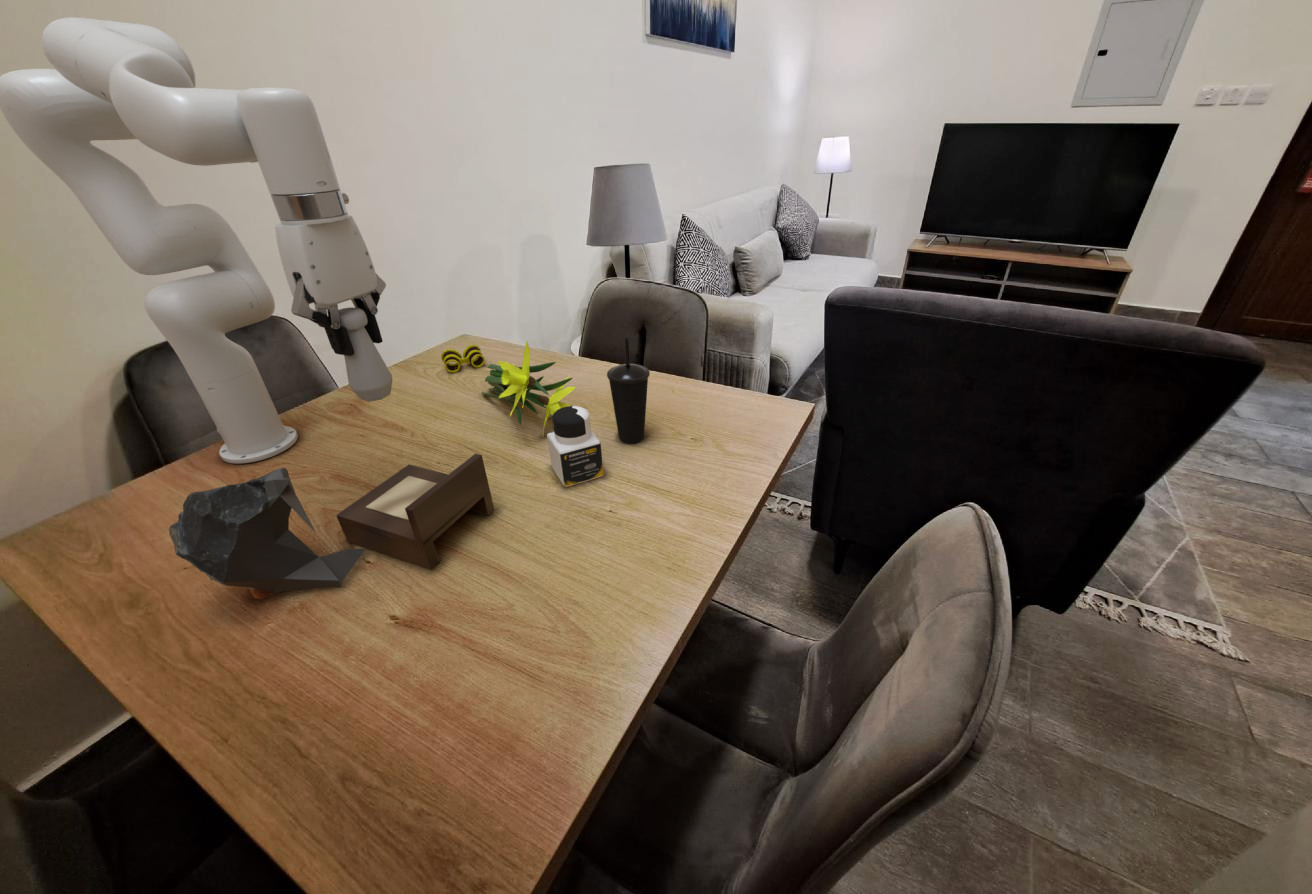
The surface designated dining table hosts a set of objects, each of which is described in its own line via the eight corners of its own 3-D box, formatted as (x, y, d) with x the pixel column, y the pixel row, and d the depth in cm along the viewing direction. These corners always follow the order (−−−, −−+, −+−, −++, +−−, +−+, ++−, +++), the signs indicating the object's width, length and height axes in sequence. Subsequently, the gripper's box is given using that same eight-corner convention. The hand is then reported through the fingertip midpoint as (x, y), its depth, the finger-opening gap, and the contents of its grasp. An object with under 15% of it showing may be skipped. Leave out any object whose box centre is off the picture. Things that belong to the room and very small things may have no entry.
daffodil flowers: (541, 381, 127) (611, 395, 98) (500, 427, 123) (560, 456, 95) (488, 329, 118) (548, 329, 89) (443, 378, 115) (490, 393, 86)
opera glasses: (447, 377, 130) (443, 359, 127) (443, 366, 133) (439, 349, 130) (487, 369, 134) (484, 352, 131) (481, 358, 137) (478, 341, 134)
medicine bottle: (564, 488, 88) (556, 426, 82) (551, 467, 94) (542, 407, 87) (604, 476, 91) (598, 415, 85) (589, 457, 96) (582, 398, 90)
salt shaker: (405, 389, 81) (379, 305, 74) (377, 406, 76) (346, 318, 69) (374, 385, 82) (346, 302, 75) (345, 401, 78) (312, 314, 71)
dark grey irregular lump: (270, 546, 78) (214, 443, 69) (372, 547, 78) (329, 442, 68) (196, 625, 66) (116, 512, 57) (316, 626, 65) (255, 512, 56)
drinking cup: (646, 449, 98) (643, 347, 87) (607, 446, 99) (598, 345, 89) (655, 429, 104) (652, 331, 94) (617, 426, 106) (611, 329, 95)
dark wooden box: (347, 541, 78) (322, 484, 72) (416, 489, 89) (399, 435, 83) (431, 570, 73) (411, 510, 67) (494, 510, 84) (481, 454, 78)
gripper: (345, 199, 73) (385, 326, 83) (223, 217, 60) (286, 367, 70) (386, 199, 71) (422, 331, 80) (268, 219, 58) (328, 374, 67)
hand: (359, 346), depth 75 cm, fingers closed on salt shaker, 4 cm apart
